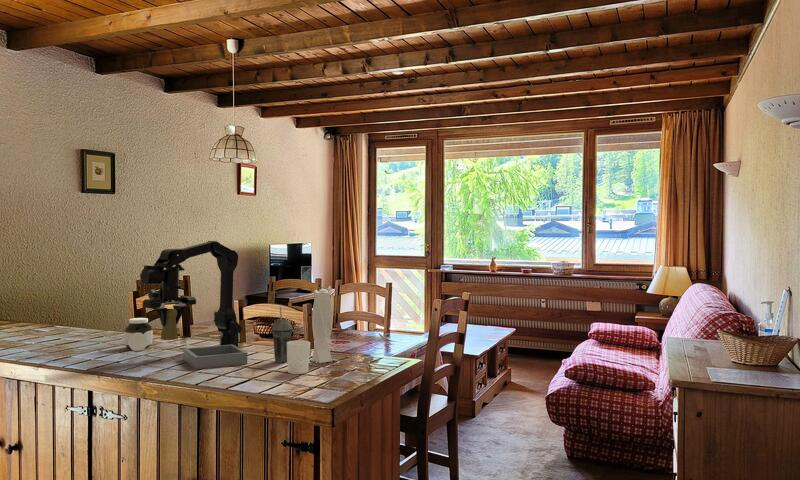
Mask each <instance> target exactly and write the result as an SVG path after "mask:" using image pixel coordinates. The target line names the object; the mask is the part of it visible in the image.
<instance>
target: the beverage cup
mask: <svg viewBox="0 0 800 480" xmlns="http://www.w3.org/2000/svg"><path fill="white" fill-rule="evenodd" d="M279 317H280V318H278V319H277V320H275V322H274V323H273V324H272V329H271V333H272V339H273V350H274V351H273V352H274V363H276V362H278V364H283V363H282V362H286V363H287V342H289V341H291V336H292V333H293V328H292V324H291V322H290V320H288V319H286V318H283V316H282V307H281V306H279Z"/></svg>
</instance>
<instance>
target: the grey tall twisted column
mask: <svg viewBox="0 0 800 480" xmlns="http://www.w3.org/2000/svg"><path fill="white" fill-rule="evenodd" d="M318 290H319V291H318ZM318 290H317V289H315V290H314V292H313V293H314V301H313V306H312V314H311V315H312V316H311V322H312V323H311V325H312V333H313V340H314V349H313V352H312V356H311V359H309V360H310V361H309V362H311V361H314V362H317V363H316V364H318V363H320V364H319V365H322V364H321V363H325V362H329V361H332V360H333V359H332V355H331V354H332V353H331V349H330V344H329V343H330V339H331V335H332V330H333V329H332V328H333V321H334V319H333V318H334V317H333V313H334V312H333V305H332V299H331V298H332V297H331V294H332V286H331V285H329V286H328V287H327V289H326V288H325V289H322V288H321V289H318ZM314 362H313V363H314ZM325 364H326V363H325Z"/></svg>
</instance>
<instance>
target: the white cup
mask: <svg viewBox="0 0 800 480" xmlns="http://www.w3.org/2000/svg"><path fill="white" fill-rule="evenodd" d="M310 352H311V341H309V340H300V339H298V340H290V341H289V342H287V362H286V363H287V372H288V374H290V375H291V374H292V375H303V374H308V372H309V363H310V361H309V360H310V354H311V353H310Z"/></svg>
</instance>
